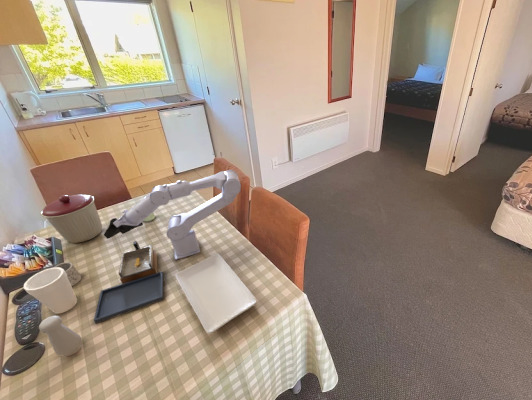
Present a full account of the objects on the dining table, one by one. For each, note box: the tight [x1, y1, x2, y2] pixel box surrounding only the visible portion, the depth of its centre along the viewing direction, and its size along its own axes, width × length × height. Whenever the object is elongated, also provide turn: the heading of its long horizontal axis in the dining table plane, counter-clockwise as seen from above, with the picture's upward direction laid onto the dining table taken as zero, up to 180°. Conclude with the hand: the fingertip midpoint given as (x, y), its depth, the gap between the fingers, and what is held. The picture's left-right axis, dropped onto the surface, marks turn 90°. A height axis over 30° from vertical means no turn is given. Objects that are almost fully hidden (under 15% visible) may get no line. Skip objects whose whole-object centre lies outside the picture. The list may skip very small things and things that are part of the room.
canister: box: [39, 194, 103, 244], centre depth 117 cm, size 18×18×21 cm
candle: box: [143, 212, 156, 222], centre depth 131 cm, size 5×5×8 cm
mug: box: [54, 261, 82, 287], centre depth 96 cm, size 10×7×7 cm
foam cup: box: [23, 266, 78, 315], centre depth 86 cm, size 10×9×13 cm
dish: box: [118, 240, 155, 278], centre depth 101 cm, size 10×14×5 cm
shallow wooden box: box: [119, 249, 158, 284], centre depth 102 cm, size 11×12×3 cm
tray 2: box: [174, 252, 258, 335], centre depth 92 cm, size 17×32×4 cm, turn 42°
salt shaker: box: [38, 315, 83, 357], centre depth 73 cm, size 6×6×13 cm
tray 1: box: [93, 271, 165, 324], centre depth 92 cm, size 19×13×1 cm
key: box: [135, 258, 140, 267], centre depth 101 cm, size 4×2×1 cm, turn 28°
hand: (113, 234), depth 98 cm, fingers open, 7 cm apart
